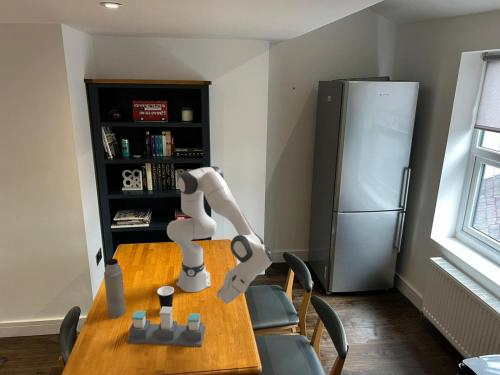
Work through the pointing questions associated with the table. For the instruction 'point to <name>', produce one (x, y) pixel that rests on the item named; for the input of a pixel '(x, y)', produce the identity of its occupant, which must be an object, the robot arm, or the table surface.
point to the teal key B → (194, 322)
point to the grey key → (166, 318)
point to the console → (166, 335)
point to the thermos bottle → (114, 289)
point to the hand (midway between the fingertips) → (217, 295)
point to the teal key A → (139, 319)
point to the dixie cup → (165, 296)
